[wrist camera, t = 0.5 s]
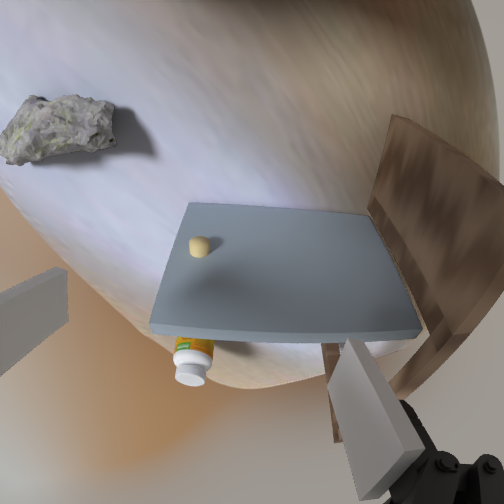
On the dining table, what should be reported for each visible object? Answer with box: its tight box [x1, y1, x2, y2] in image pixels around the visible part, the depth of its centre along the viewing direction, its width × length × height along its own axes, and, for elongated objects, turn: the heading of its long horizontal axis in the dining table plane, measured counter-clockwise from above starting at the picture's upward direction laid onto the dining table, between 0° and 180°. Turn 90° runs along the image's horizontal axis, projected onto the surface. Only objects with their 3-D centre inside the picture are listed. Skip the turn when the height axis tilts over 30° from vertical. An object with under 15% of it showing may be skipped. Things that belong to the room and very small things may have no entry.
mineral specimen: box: [0, 95, 117, 166], centre depth 20 cm, size 16×7×7 cm, turn 87°
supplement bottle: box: [173, 336, 214, 386], centre depth 38 cm, size 5×5×10 cm
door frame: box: [321, 114, 504, 443], centre depth 26 cm, size 34×2×18 cm, turn 176°
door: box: [149, 203, 423, 343], centre depth 24 cm, size 19×3×15 cm, turn 86°
